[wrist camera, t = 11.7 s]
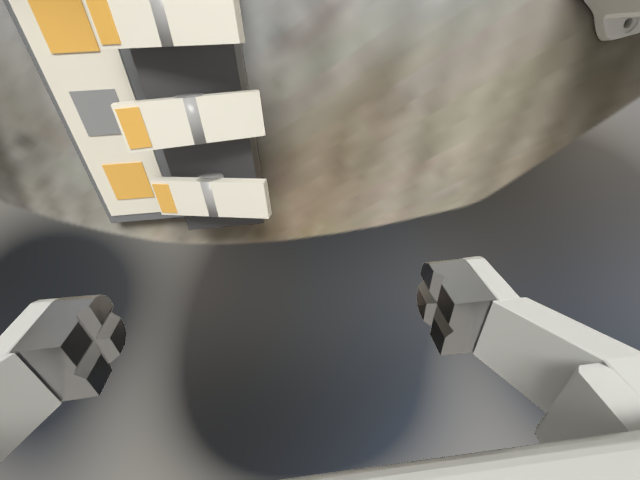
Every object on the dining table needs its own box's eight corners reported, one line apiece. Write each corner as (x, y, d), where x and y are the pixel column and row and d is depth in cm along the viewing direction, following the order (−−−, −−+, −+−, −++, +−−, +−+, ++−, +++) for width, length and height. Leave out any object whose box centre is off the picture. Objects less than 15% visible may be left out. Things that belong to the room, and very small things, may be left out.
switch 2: (255, 87, 27) (259, 91, 25) (261, 129, 29) (265, 135, 27) (117, 99, 25) (110, 105, 23) (134, 144, 27) (129, 153, 25)
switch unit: (225, -59, 25) (213, -78, 21) (266, 204, 39) (264, 227, 34) (-8, -51, 24) (-75, -70, 20) (116, 216, 38) (94, 242, 33)
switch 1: (243, -21, 21) (228, -26, 19) (252, 42, 23) (239, 43, 21) (104, -10, 23) (78, -13, 21) (123, 47, 25) (101, 49, 23)
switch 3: (270, 173, 29) (263, 183, 27) (275, 207, 31) (268, 219, 29) (163, 171, 31) (148, 181, 29) (174, 203, 33) (161, 215, 31)
